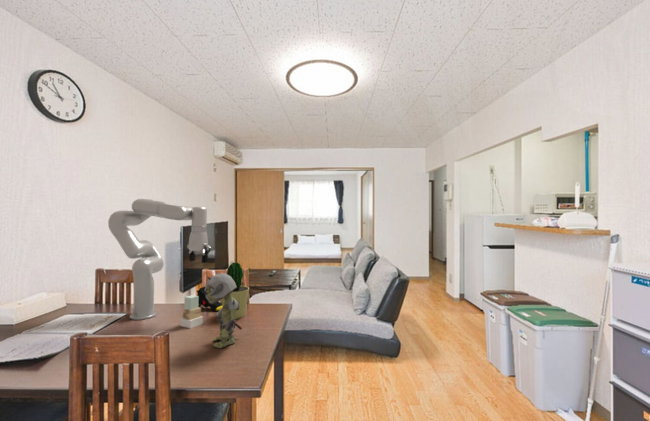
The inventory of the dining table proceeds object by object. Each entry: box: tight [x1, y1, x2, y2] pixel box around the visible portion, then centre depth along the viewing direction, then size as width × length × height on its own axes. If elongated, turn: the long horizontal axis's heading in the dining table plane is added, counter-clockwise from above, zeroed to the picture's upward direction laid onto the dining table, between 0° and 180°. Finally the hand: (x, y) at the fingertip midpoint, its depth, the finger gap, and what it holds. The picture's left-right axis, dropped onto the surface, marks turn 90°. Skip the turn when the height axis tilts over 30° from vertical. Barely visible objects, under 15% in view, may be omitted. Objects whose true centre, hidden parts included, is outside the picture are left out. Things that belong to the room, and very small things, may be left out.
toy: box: [204, 273, 243, 349], centre depth 133 cm, size 15×16×30 cm
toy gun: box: [195, 285, 222, 312], centre depth 180 cm, size 5×18×12 cm
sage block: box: [183, 294, 199, 310], centre depth 154 cm, size 5×5×6 cm
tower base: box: [179, 315, 204, 329], centre depth 154 cm, size 8×8×4 cm
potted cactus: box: [220, 261, 250, 320], centre depth 169 cm, size 15×15×30 cm
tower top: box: [182, 306, 202, 320], centre depth 154 cm, size 6×6×4 cm
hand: (198, 261), depth 164 cm, fingers open, 9 cm apart
